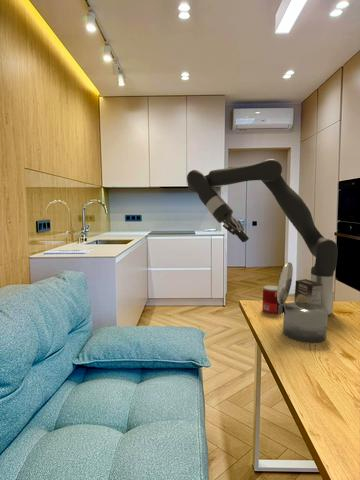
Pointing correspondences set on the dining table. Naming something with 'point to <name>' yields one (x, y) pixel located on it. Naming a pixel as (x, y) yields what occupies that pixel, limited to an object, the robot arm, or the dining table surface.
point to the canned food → (270, 300)
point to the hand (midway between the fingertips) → (246, 240)
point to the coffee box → (308, 292)
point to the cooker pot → (304, 321)
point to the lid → (284, 283)
